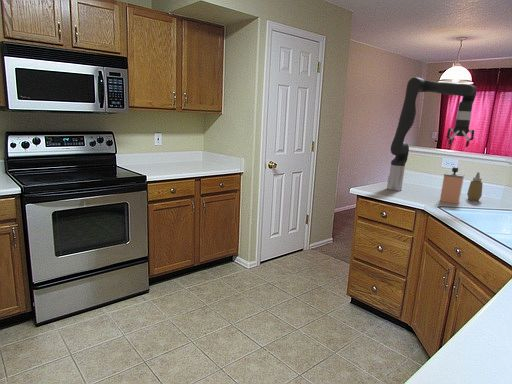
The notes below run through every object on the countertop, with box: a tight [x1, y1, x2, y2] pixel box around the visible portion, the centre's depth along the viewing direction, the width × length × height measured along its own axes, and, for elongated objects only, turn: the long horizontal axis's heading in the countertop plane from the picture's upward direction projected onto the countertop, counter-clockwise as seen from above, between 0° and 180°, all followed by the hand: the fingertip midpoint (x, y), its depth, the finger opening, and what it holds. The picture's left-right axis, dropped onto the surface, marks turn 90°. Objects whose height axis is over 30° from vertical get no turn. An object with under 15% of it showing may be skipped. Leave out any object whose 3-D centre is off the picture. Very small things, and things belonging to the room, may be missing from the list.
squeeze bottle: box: [466, 172, 483, 202], centre depth 234 cm, size 8×8×18 cm
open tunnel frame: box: [439, 174, 465, 205], centre depth 228 cm, size 10×10×16 cm
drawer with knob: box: [443, 166, 465, 178], centre depth 227 cm, size 10×10×20 cm
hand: (458, 146), depth 223 cm, fingers open, 8 cm apart
